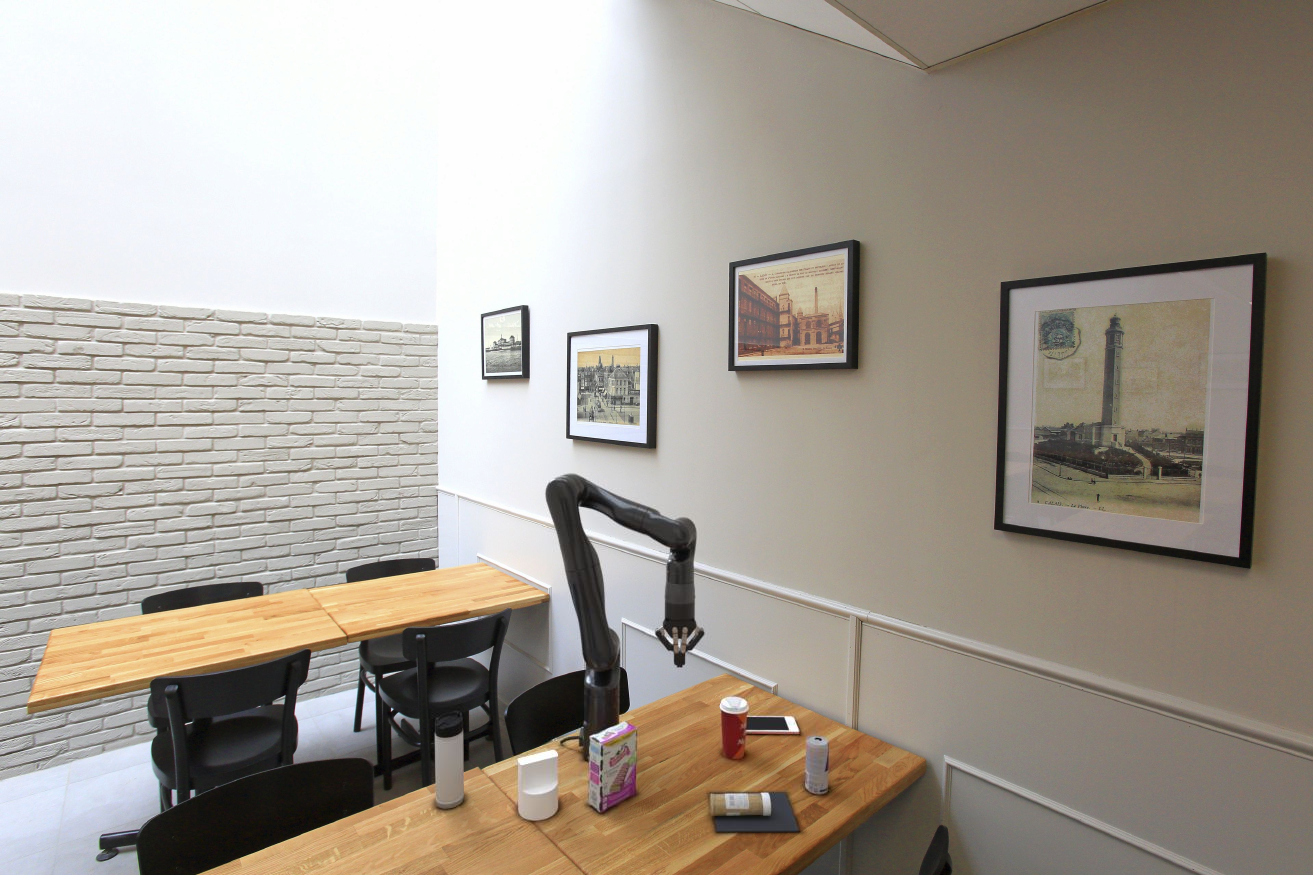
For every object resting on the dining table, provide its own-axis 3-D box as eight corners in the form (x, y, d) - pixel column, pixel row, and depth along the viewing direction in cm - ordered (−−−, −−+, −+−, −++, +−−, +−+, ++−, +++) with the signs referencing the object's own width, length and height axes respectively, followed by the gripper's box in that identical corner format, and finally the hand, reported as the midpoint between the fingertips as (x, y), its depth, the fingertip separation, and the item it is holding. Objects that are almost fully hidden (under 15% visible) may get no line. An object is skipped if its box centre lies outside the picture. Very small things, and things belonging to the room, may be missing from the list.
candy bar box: (601, 814, 147) (601, 744, 146) (587, 804, 151) (587, 735, 150) (637, 794, 155) (638, 726, 154) (623, 785, 159) (624, 719, 158)
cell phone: (799, 734, 183) (799, 731, 183) (735, 733, 183) (735, 730, 183) (793, 719, 192) (793, 716, 192) (732, 718, 192) (732, 715, 192)
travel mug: (470, 795, 154) (469, 712, 153) (452, 811, 148) (451, 725, 147) (447, 789, 156) (447, 708, 155) (429, 805, 150) (428, 721, 149)
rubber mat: (716, 832, 141) (716, 830, 141) (710, 793, 155) (710, 792, 155) (799, 832, 142) (799, 830, 142) (785, 793, 156) (785, 791, 155)
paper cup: (749, 761, 169) (750, 708, 169) (720, 760, 169) (720, 708, 169) (746, 745, 177) (746, 695, 176) (717, 745, 177) (718, 694, 177)
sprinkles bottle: (710, 821, 145) (771, 820, 145) (711, 804, 144) (772, 804, 144) (709, 804, 150) (767, 803, 150) (709, 788, 149) (768, 787, 149)
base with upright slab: (524, 824, 143) (524, 771, 143) (513, 802, 151) (513, 752, 151) (563, 813, 148) (563, 761, 147) (550, 792, 156) (550, 743, 155)
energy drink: (829, 785, 159) (830, 737, 158) (825, 797, 154) (826, 747, 153) (807, 779, 161) (808, 732, 161) (803, 791, 156) (803, 742, 156)
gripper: (704, 593, 167) (704, 660, 168) (653, 593, 166) (652, 660, 167) (707, 602, 159) (707, 672, 160) (653, 602, 159) (653, 672, 160)
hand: (679, 666), depth 164 cm, fingers closed
